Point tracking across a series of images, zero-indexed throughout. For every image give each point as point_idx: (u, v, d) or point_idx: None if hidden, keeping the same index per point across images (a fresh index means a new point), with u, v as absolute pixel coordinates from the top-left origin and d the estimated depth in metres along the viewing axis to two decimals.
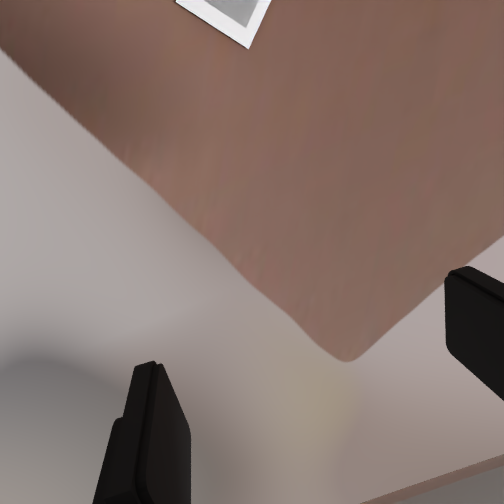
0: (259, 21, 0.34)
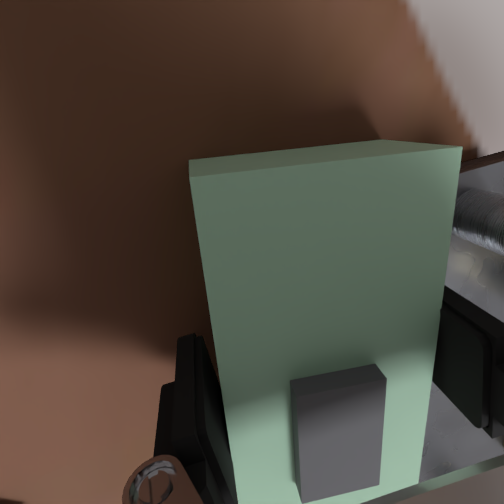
0: None
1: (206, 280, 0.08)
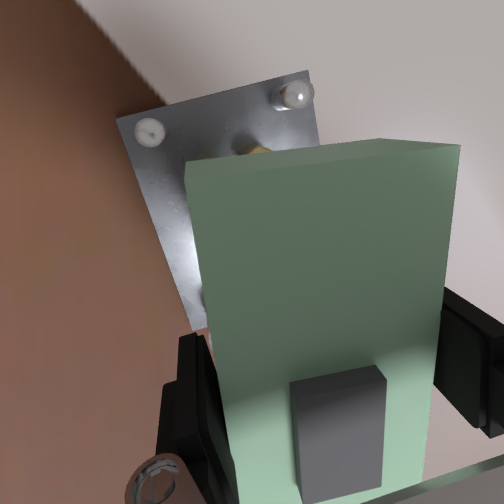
0: None
1: (203, 283, 0.08)
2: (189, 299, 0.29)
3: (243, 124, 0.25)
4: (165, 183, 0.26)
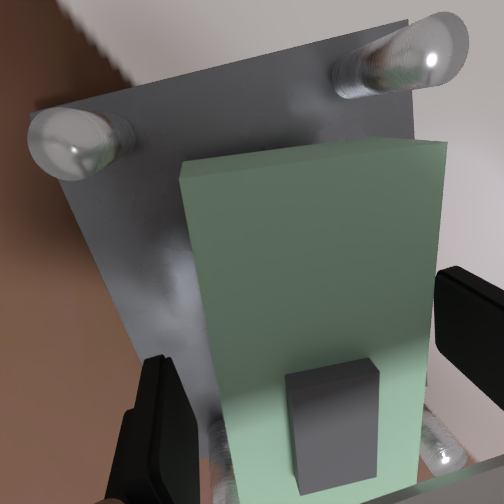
0: None
1: (199, 278, 0.08)
2: None
3: (280, 124, 0.13)
4: (134, 234, 0.14)
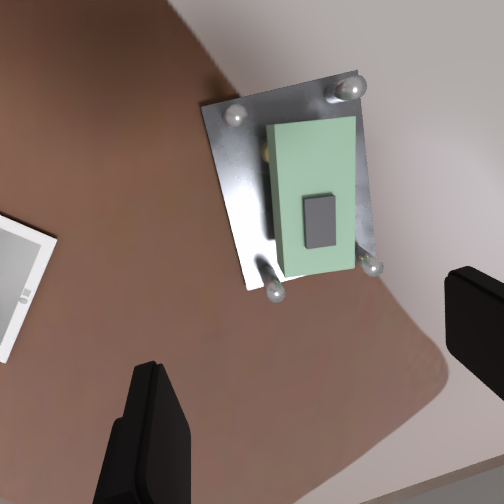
0: (12, 342, 0.35)
1: (277, 157, 0.25)
2: (246, 262, 0.35)
3: (301, 113, 0.31)
4: (236, 161, 0.31)
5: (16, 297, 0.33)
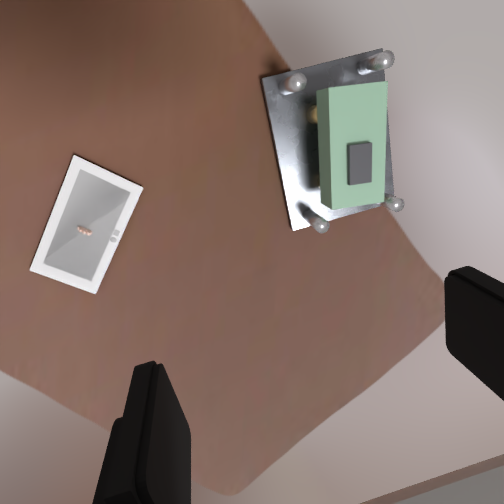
0: (102, 276, 0.43)
1: (329, 113, 0.34)
2: (293, 207, 0.43)
3: (339, 83, 0.39)
4: (287, 122, 0.40)
5: (108, 236, 0.41)
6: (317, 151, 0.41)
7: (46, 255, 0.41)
